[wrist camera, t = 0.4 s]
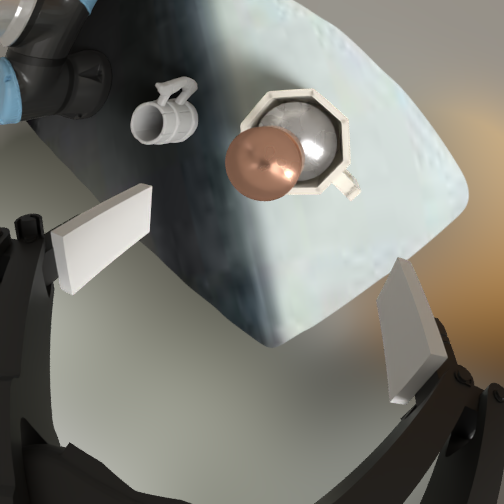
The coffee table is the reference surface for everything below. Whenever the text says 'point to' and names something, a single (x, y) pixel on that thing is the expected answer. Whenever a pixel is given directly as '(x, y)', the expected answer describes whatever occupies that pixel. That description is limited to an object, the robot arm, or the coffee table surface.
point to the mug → (166, 114)
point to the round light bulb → (281, 151)
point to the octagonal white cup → (341, 126)
